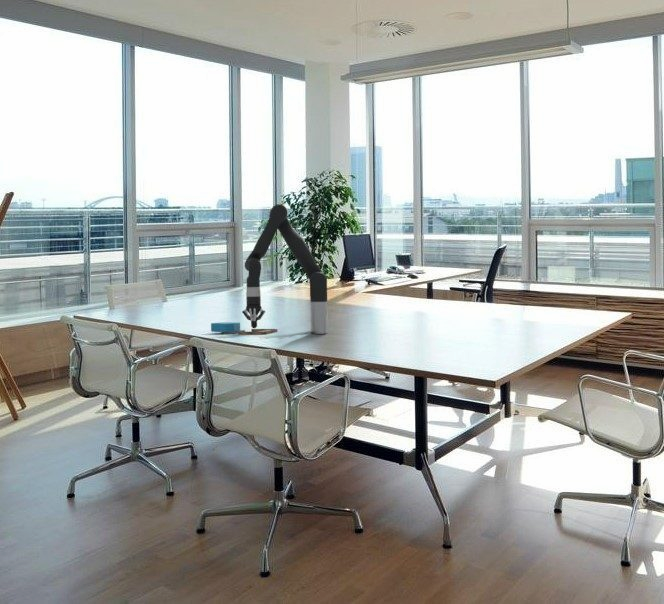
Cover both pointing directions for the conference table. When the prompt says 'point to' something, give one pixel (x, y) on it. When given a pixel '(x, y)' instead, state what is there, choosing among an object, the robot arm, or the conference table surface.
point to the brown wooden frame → (255, 332)
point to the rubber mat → (232, 332)
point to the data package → (225, 327)
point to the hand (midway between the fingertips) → (254, 328)
